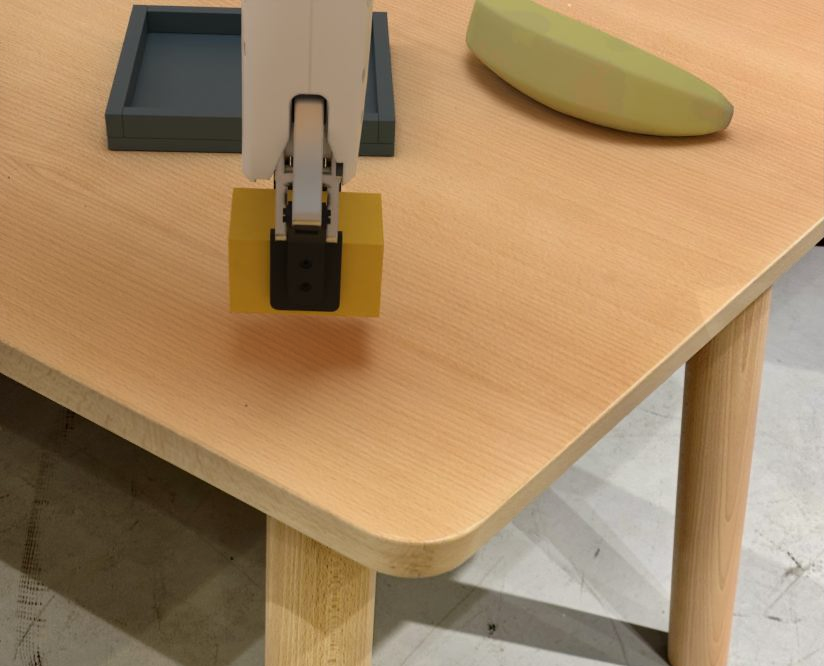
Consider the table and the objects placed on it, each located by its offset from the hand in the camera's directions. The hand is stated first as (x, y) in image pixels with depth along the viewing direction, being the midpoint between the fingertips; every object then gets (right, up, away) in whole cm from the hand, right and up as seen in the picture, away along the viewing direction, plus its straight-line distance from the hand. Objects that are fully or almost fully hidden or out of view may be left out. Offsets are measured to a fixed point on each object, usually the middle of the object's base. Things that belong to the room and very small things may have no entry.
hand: (305, 272), depth 66 cm
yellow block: (0, -1, +1) cm, 1 cm away
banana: (+16, +17, +26) cm, 35 cm away
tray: (-5, +15, +23) cm, 28 cm away
